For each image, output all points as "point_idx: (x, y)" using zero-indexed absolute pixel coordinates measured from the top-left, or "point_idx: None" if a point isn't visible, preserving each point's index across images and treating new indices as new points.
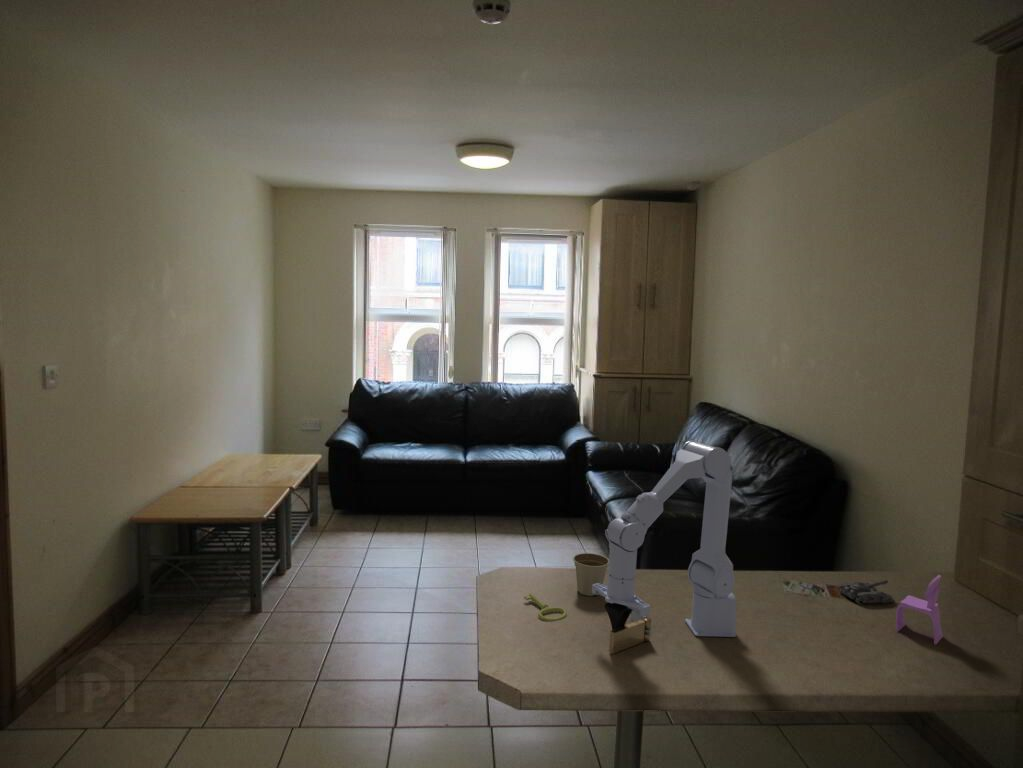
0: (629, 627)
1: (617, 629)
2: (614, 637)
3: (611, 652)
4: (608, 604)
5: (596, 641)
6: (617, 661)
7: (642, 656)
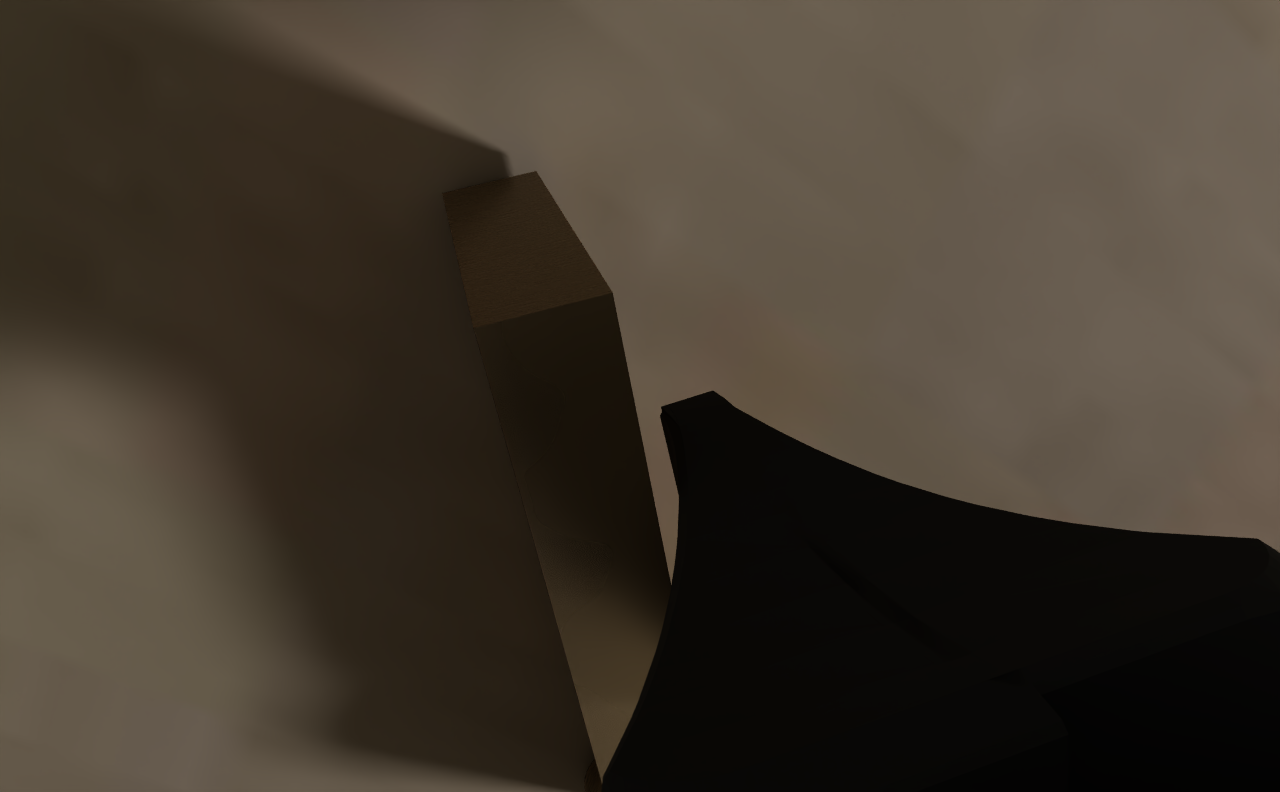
0: (587, 723)
1: (608, 478)
2: (467, 296)
3: (482, 185)
4: (1273, 731)
5: (897, 182)
6: (218, 134)
7: (271, 569)
